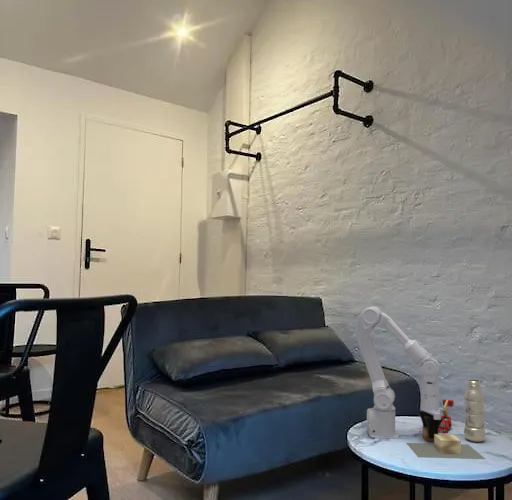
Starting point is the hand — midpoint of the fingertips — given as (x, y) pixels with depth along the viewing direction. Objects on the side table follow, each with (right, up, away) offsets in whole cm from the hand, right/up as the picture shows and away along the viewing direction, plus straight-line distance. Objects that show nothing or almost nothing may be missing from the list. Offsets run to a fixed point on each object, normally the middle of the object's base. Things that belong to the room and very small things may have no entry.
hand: (430, 435), depth 161 cm
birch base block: (+2, -1, -10) cm, 10 cm away
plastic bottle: (+15, -2, 0) cm, 15 cm away
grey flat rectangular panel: (+1, -1, -10) cm, 10 cm away
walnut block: (0, -2, 0) cm, 2 cm away
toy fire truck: (+10, -3, +14) cm, 17 cm away
